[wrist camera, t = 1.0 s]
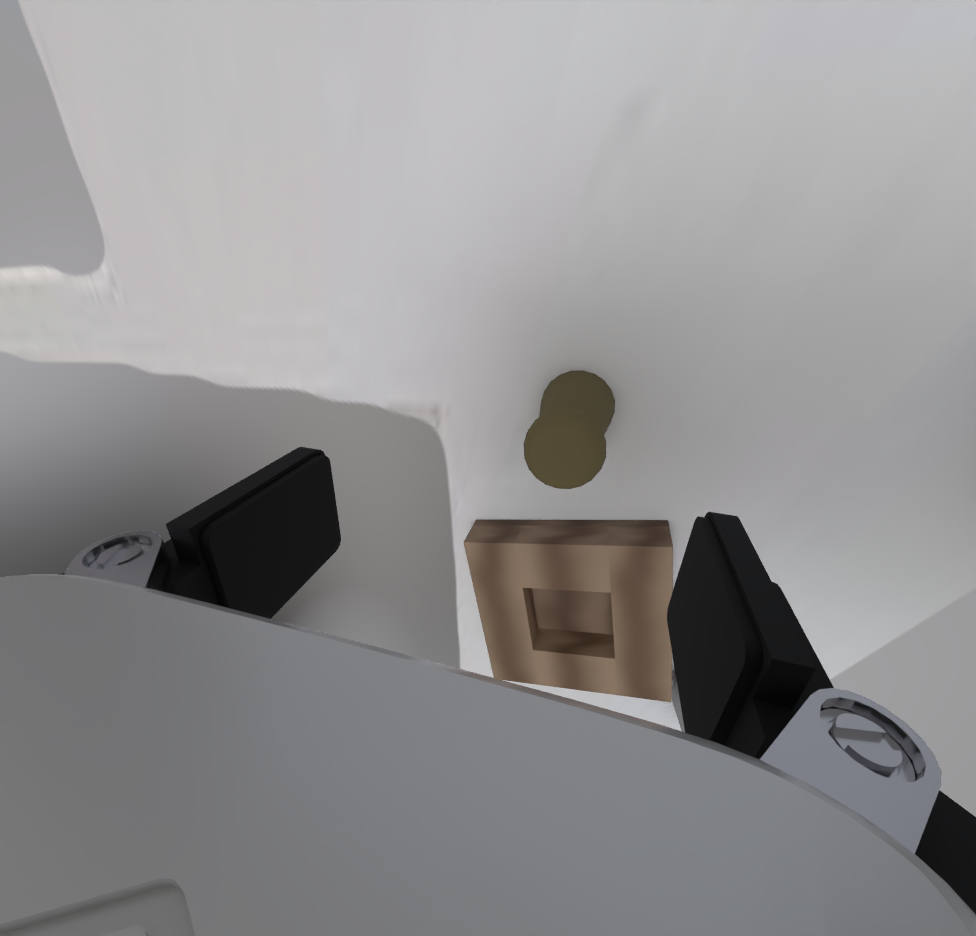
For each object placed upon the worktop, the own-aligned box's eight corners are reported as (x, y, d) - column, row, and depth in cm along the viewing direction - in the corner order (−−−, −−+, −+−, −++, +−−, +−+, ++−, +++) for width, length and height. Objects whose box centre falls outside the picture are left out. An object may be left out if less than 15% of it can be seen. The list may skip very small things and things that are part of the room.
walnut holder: (667, 520, 37) (672, 547, 33) (667, 667, 44) (671, 702, 40) (476, 519, 42) (463, 542, 39) (502, 649, 49) (494, 678, 46)
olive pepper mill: (529, 421, 36) (497, 476, 27) (560, 357, 33) (536, 394, 24) (592, 452, 36) (582, 519, 26) (629, 390, 33) (633, 440, 23)
